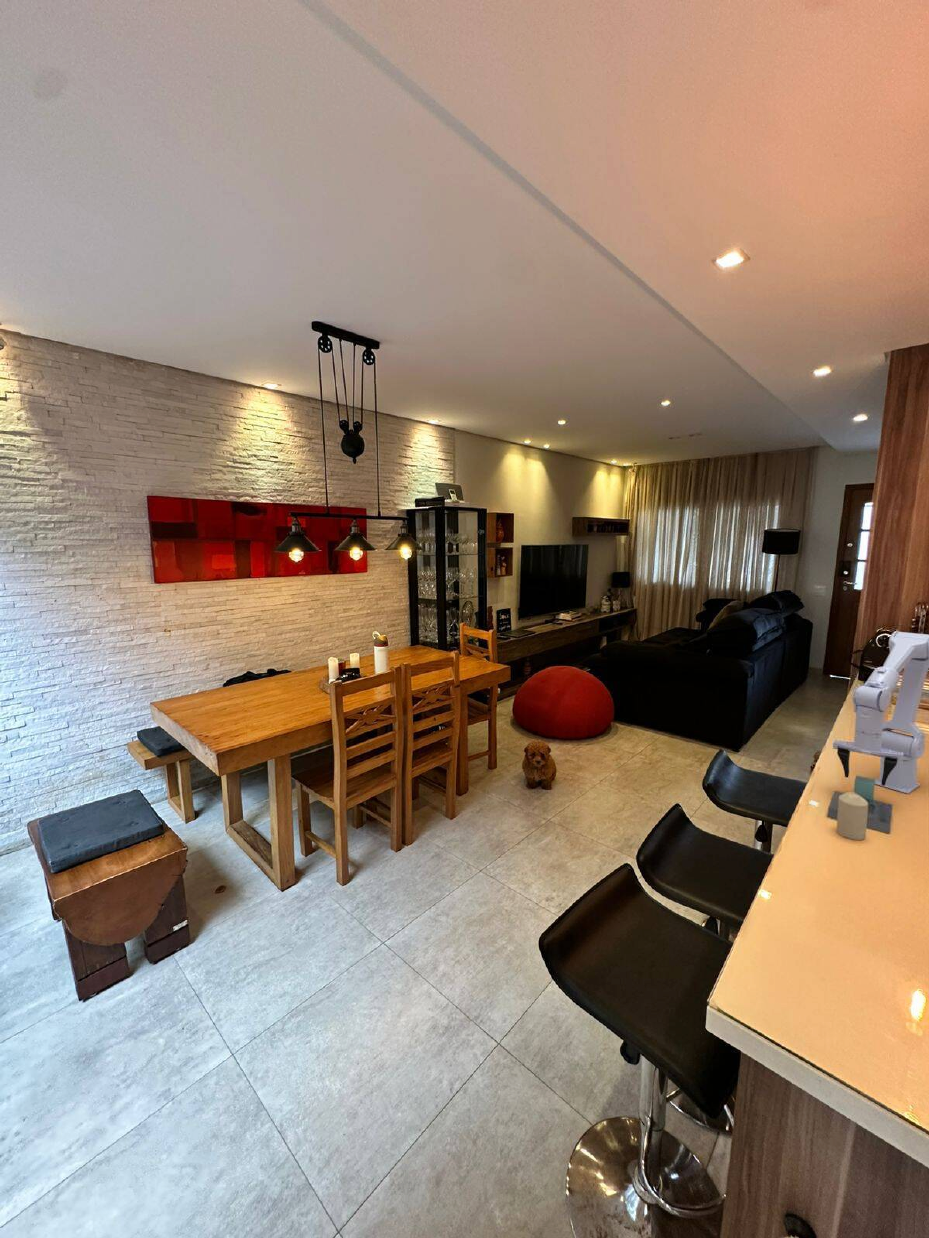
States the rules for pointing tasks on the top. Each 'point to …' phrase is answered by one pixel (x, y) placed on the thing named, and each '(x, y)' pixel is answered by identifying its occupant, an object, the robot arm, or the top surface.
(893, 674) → the robot arm
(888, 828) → the square hole plate
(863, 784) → the peg block
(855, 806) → the candle
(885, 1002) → the top surface
